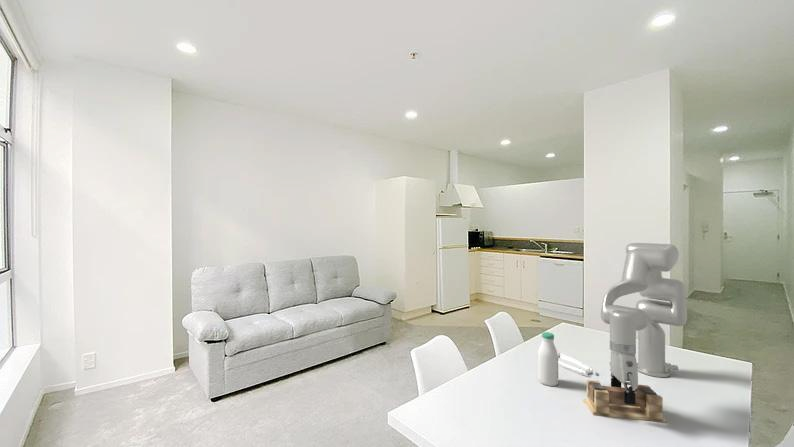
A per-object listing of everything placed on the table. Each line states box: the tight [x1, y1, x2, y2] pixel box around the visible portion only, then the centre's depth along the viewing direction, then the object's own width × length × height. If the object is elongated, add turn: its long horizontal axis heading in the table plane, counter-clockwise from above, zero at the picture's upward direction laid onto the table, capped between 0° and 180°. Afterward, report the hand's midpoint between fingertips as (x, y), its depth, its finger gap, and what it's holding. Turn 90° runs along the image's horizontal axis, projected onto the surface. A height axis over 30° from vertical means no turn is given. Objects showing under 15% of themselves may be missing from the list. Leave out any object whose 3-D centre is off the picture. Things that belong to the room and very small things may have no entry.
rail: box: [589, 383, 658, 407], centre depth 115 cm, size 20×4×5 cm, turn 79°
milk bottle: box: [537, 331, 559, 387], centre depth 136 cm, size 8×8×20 cm
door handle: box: [557, 351, 598, 378], centre depth 153 cm, size 3×10×25 cm
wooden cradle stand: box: [583, 379, 667, 423], centre depth 115 cm, size 22×8×8 cm, turn 79°
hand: (622, 396), depth 115 cm, fingers open, 9 cm apart
